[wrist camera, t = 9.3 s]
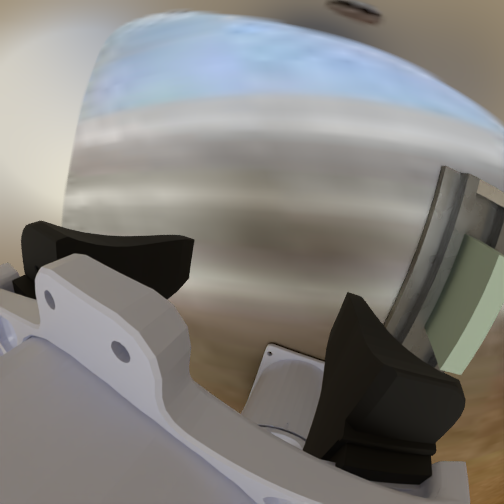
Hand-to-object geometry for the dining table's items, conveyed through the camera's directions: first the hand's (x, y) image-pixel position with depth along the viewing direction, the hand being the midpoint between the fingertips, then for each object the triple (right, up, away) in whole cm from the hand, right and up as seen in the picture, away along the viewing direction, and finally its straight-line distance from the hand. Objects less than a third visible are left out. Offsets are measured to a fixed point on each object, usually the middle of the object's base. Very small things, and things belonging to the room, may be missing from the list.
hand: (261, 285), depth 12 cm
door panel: (+15, -1, +5) cm, 16 cm away
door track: (+15, -3, +7) cm, 17 cm away
